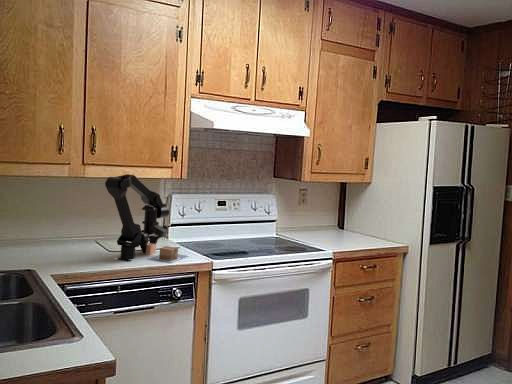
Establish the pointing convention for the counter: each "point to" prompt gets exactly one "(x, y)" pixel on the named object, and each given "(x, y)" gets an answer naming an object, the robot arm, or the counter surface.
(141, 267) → the counter surface
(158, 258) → the board
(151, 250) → the terracotta cube
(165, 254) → the walnut block
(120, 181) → the robot arm
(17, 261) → the counter surface
